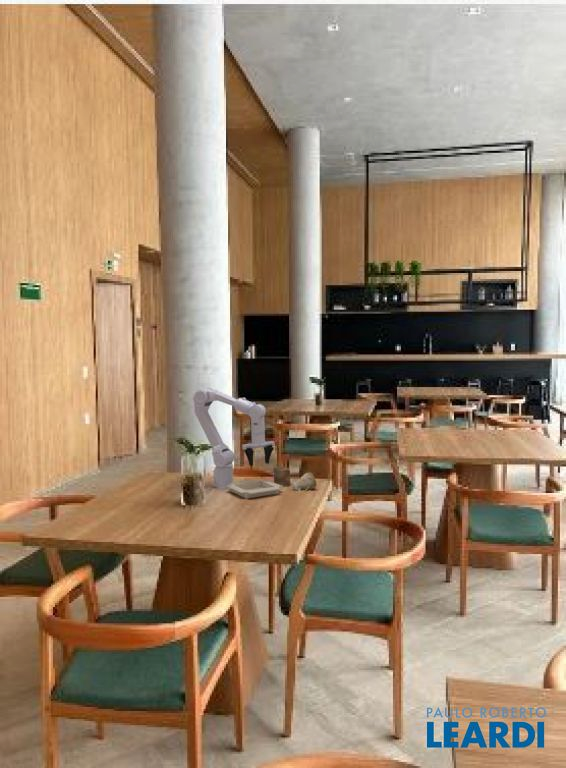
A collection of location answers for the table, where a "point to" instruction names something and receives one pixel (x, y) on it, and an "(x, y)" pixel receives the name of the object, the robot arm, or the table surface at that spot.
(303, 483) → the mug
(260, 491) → the off-white shallow square tray
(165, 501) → the table surface
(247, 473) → the table surface
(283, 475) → the box
